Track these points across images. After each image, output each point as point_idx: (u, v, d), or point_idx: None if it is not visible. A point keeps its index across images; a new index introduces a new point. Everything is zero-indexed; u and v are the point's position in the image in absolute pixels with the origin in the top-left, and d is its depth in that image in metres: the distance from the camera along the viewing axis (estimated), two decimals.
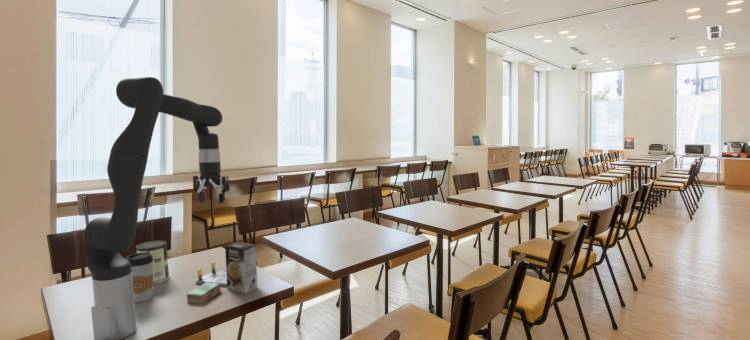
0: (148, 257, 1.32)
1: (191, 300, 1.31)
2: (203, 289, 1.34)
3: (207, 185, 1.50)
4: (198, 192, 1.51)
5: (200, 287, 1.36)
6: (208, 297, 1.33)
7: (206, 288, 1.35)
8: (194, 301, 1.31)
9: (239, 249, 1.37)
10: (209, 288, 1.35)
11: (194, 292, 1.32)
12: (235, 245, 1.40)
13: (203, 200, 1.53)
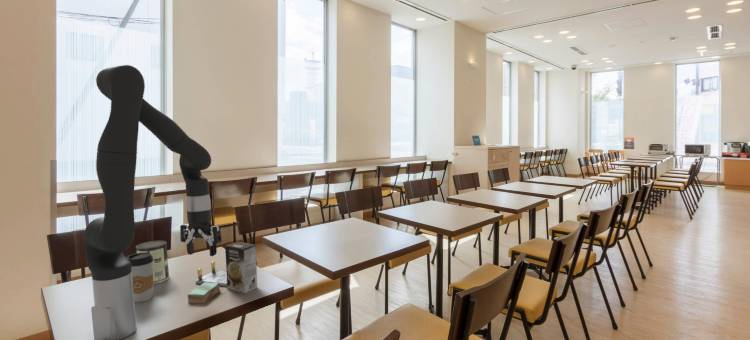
0: (148, 257, 1.32)
1: (192, 300, 1.31)
2: (203, 289, 1.34)
3: (196, 236, 1.32)
4: (186, 243, 1.34)
5: (200, 287, 1.36)
6: (209, 297, 1.34)
7: (206, 288, 1.35)
8: (195, 301, 1.31)
9: (239, 249, 1.37)
10: (209, 288, 1.35)
11: (195, 292, 1.32)
12: (235, 245, 1.40)
13: (192, 251, 1.35)
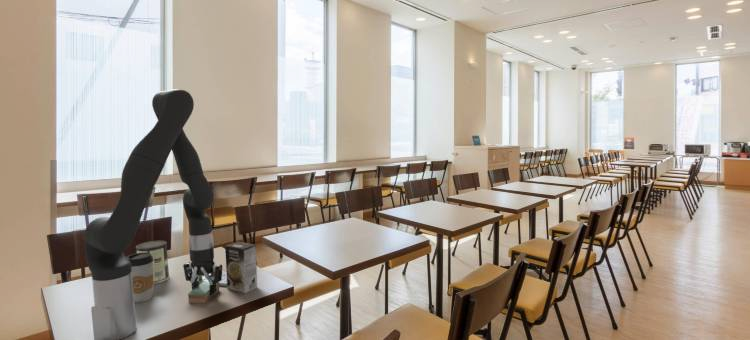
0: (148, 257, 1.32)
1: (192, 299, 1.31)
2: (203, 288, 1.34)
3: (200, 273, 1.34)
4: (191, 282, 1.35)
5: (199, 286, 1.36)
6: (209, 296, 1.34)
7: (206, 287, 1.35)
8: (196, 300, 1.31)
9: (239, 249, 1.37)
10: None
11: (195, 291, 1.32)
12: (235, 245, 1.40)
13: None
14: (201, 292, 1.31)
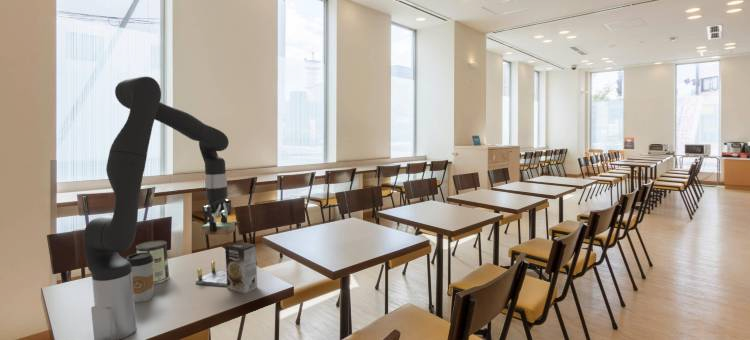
0: (148, 257, 1.32)
1: None
2: None
3: None
4: None
5: (222, 223, 1.50)
6: (211, 232, 1.46)
7: (217, 224, 1.47)
8: None
9: (239, 249, 1.37)
10: (216, 225, 1.46)
11: None
12: (235, 245, 1.40)
13: None
14: (206, 224, 1.47)
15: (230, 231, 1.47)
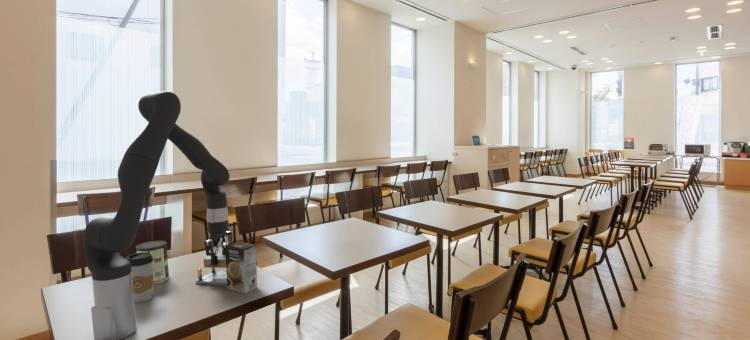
0: (148, 257, 1.32)
1: None
2: None
3: None
4: (222, 248, 1.53)
5: (223, 255, 1.51)
6: (212, 265, 1.47)
7: (219, 257, 1.49)
8: None
9: (239, 249, 1.37)
10: (218, 258, 1.48)
11: None
12: (235, 245, 1.40)
13: None
14: (207, 257, 1.49)
15: None
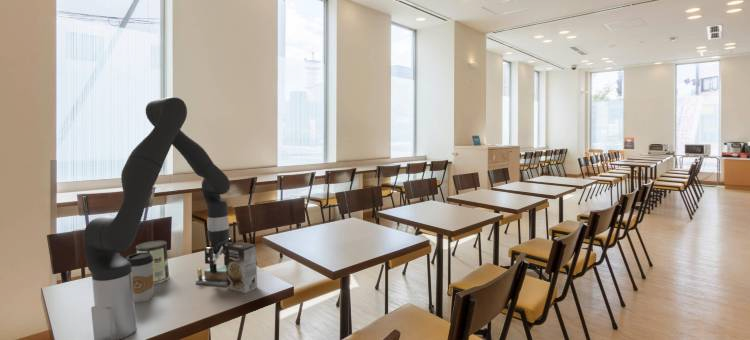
0: (148, 257, 1.32)
1: None
2: (217, 268, 1.50)
3: None
4: None
5: (224, 267, 1.52)
6: (213, 276, 1.48)
7: (219, 269, 1.49)
8: None
9: (239, 249, 1.37)
10: (218, 270, 1.48)
11: None
12: (235, 245, 1.40)
13: None
14: (208, 269, 1.49)
15: None
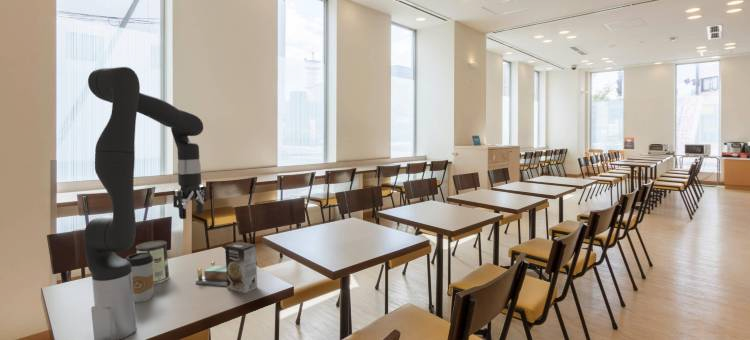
0: (148, 257, 1.32)
1: None
2: (217, 268, 1.50)
3: None
4: (197, 203, 1.48)
5: (224, 267, 1.52)
6: (213, 276, 1.48)
7: (219, 269, 1.49)
8: None
9: (239, 249, 1.37)
10: (218, 270, 1.48)
11: (213, 267, 1.51)
12: (235, 245, 1.40)
13: (199, 212, 1.47)
14: (208, 269, 1.49)
15: None
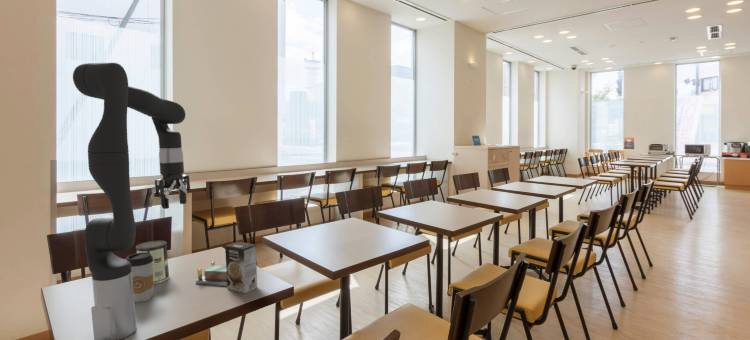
0: (148, 257, 1.32)
1: None
2: (217, 268, 1.50)
3: None
4: (180, 192, 1.45)
5: (224, 267, 1.52)
6: (213, 276, 1.48)
7: (219, 269, 1.49)
8: None
9: (239, 249, 1.37)
10: (218, 270, 1.48)
11: (213, 267, 1.51)
12: (235, 245, 1.40)
13: (182, 202, 1.44)
14: (208, 269, 1.49)
15: None
